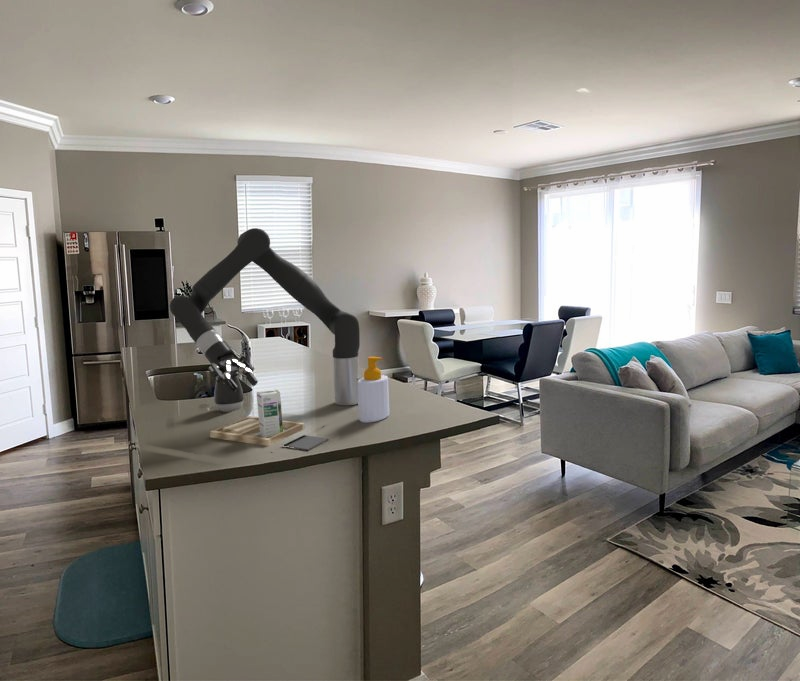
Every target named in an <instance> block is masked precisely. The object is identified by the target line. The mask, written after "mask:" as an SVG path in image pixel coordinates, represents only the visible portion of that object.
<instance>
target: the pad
mask: <svg viewBox="0 0 800 681" xmlns="http://www.w3.org/2000/svg"><path fill="white" fill-rule="evenodd" d="M327 440H328V441H329V440H330V439H329V438H328V437H322V436H321V437H320V436H313V435H312V436H311V435H306V434H303V435H301V436H298V437H296V438H295V439H293V440H291V441H288V442H287V443H285V444H283V445H284V446H289V447H294V448H298V449H297V450H299V449H303V450H302V451H306V450H308V452H309V451H311V450H313V449H315V448H317V447H319V446H320V444H321V445H322V444H324V443H326V442H328V441H327ZM325 441H326V442H325ZM323 442H324V443H323ZM318 445H319V446H318ZM316 446H317V447H316ZM314 447H315V448H314ZM312 448H313V449H312ZM310 449H311V450H310Z"/></svg>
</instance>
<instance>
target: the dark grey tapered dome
mask: <svg viewBox="0 0 800 681" xmlns="http://www.w3.org/2000/svg"><path fill="white" fill-rule="evenodd" d="M238 376H239V375H238V374H231V375H230V379H232V380H233V381H234V382H235V384H236V385H237V386H238V389H237V391H236V392H232V391H231V390H230V389H229V388H228V386H227V385H226V384H224V383H222V382H221V383H217V381H216V380H215V381H216V382H215V387H214V391H213V394H214V395H213V401H214V402H213V403H214V404H215V406H216V408H217V409H218V411H220V412H222V411H223V412H222V413H233V412H235V411H238V410H240V409H241V407H242V406H243V403H244V400H245V397H244V391H243V387H242V385H241V382H240V380H239V377H238ZM218 377H219V376H218ZM232 411H233V412H232Z"/></svg>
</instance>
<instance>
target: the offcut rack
mask: <svg viewBox="0 0 800 681" xmlns="http://www.w3.org/2000/svg"><path fill="white" fill-rule="evenodd" d="M247 419H255V420H259V416H258V417H257V416H246V417H244V418H241V419H239V420H236V421H234V422H231V423H227V424H226V425H224V426H221V427H218V428H215V429H212V430H210V431H209V438H212V439H220V440H225V441H226V440H227V441H233V442H240V443H247V444H254V445H258V446H267V447H269V446H272V445H275V444H276V443H278V442H280V441H282V440H285V439H286V438H289V437H290V436H293V435H295V434H297V433H299V432H301V431H303V430H305V429H306V423H305V422H300V421H290V420H283V419H282V424H283V428H284V429H285V430H283V432H281V433H278V434H276V435H274V436H272V437H270V438H263V437H262V436H254V435H257V434H260V428H259V426H256V427H254V428H252V429H249V430H247V431H244V432H242V433H240V434H235V433H228V432H223V428H224V427H227V426H230V425H233V424H236V423H239V422H242V421H244V420H247Z"/></svg>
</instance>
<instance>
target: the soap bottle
mask: <svg viewBox="0 0 800 681" xmlns="http://www.w3.org/2000/svg"><path fill="white" fill-rule="evenodd" d="M379 361H383V357H379V356H368V357H367V366H368V367H367V368H366V369H365V370H364V372H363V377H362V378H360V380H358V382H357V388H358V404H357V405H358V420H359V421H360V423H367V424H368V423H369V424H370V423H374V422H379V421H382V420H384V419H386V418H388V417H389V415H390V393H389V392H390V391H389V377H388V376H387V375H384V374H382V370H381V369H380V368H378V367H377V362H379Z"/></svg>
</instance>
